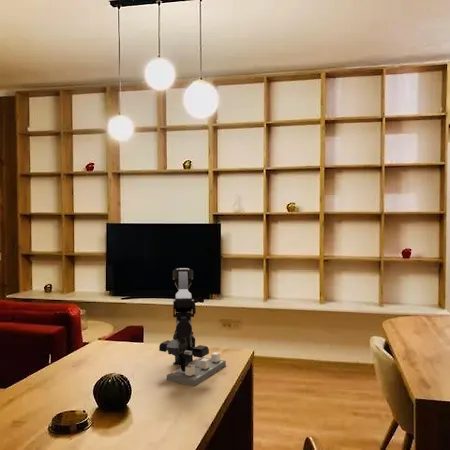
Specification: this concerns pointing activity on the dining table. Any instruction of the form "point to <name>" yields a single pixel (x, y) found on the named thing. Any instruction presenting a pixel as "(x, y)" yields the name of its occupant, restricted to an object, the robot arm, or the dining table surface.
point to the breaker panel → (196, 372)
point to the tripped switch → (190, 370)
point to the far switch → (215, 357)
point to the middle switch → (204, 363)
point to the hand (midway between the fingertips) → (183, 371)
